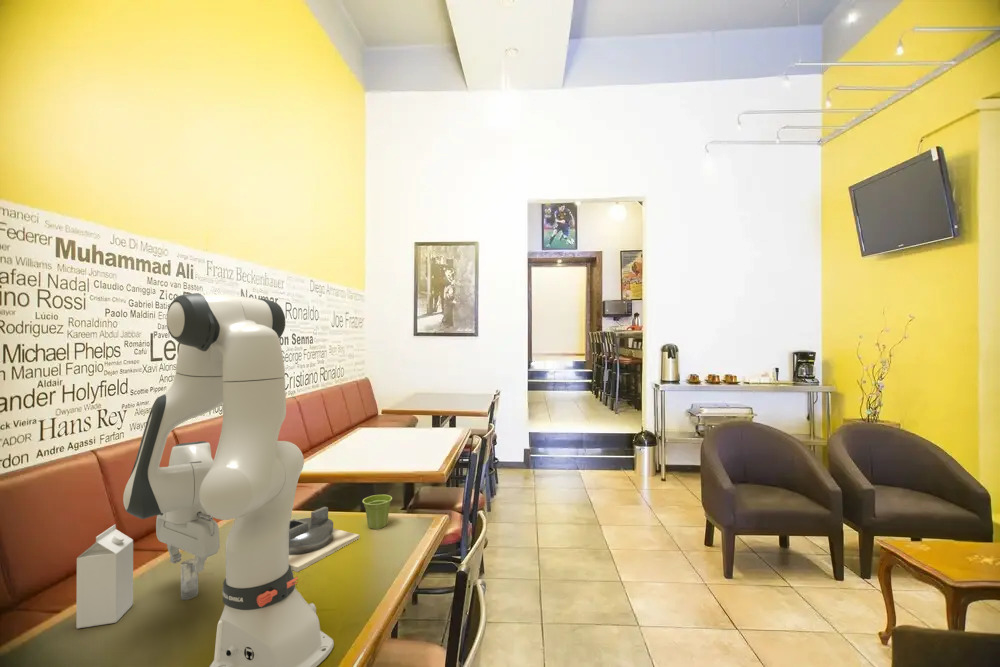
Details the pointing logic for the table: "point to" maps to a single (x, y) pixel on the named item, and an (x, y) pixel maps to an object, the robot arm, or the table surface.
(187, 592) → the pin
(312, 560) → the board
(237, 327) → the robot arm
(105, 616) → the milk carton
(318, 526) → the grey disc with tab
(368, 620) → the table surface
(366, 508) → the plant pot
